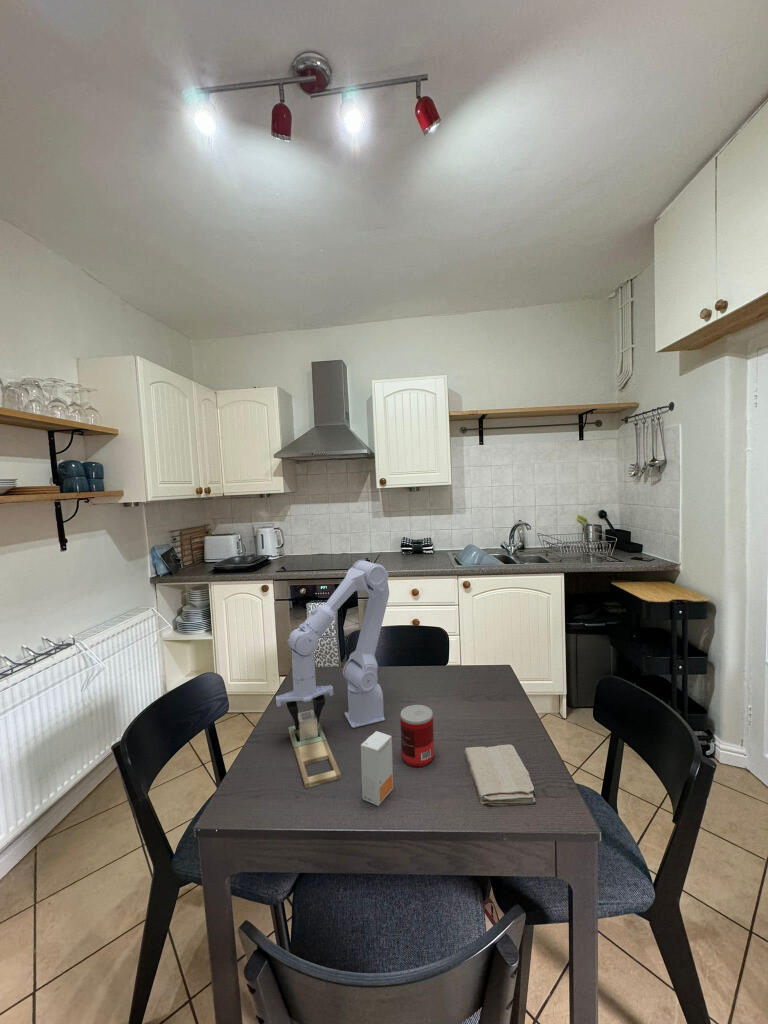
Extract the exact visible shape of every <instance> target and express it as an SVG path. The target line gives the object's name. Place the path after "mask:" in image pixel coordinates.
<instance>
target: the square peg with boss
mask: <svg viewBox="0 0 768 1024" xmlns="http://www.w3.org/2000/svg"><path fill="white" fill-rule="evenodd" d="M298 723H299V730H297V734H296V735H297V738H298V742H300V741H304V740H309V739H313V738H317V737H319V735H318V728H317V717H316V715H315V712H314V709H311V710H306V711H301V712H298Z"/></svg>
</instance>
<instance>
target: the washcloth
mask: <svg viewBox="0 0 768 1024" xmlns="http://www.w3.org/2000/svg"><path fill="white" fill-rule="evenodd" d="M463 754H465V758H466V759H465V760H467V762H466V763H468V767H469V772H470V775H471V777H472V779H473V781H474V784H475V787H476V790H477V794H478V798H479V801H480V802H479V803H480V804H481V805H482V806H484V805H489V806H495V807H496V806H510V805H530V804H535V803H536V797H535V796H534V793H533V792H534V791H535V787H534V785H533V782H532V780H531V776H530V773H529V771H528V770H527V768H526V767H525V765H524V763H523V761H522V759H521V757H520V756H519V754H518V752H517V750H516V749H515V746H514V745H512V744H507V743H506V744H500V745H495V746H488V747H486V746H472V747H471V746H470V747H466V748H465V749H464V752H463Z"/></svg>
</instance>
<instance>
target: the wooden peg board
mask: <svg viewBox="0 0 768 1024" xmlns="http://www.w3.org/2000/svg"><path fill="white" fill-rule="evenodd" d="M317 728H318V737H317V738H313V739H309V740H304V741H300V742H299V741H298V740H297V737H296V735H298V734H297V730H296V728H295V725H291V726H288V733H289V737H290V741H291V744H292V748H293V750H294V754H295V756H296V761H297V763H298V764H297V765H298V767H299V771H300V775H301V779H302V782H303V785H304V789H309V788H313V787H315V786H316V787H317V786H319V785H323V784H326V783H330V782H334V781H337V780H340V779H342V774H341V771H340V769H339V767H338V764H337V762H336V759H335V757H334V755H333V753H332V750H331V748H330V746H329V743H328V741H327V738H326V736H325V733H324V731H323V728H322V727H321V724H320V722H319V723H318V726H317ZM327 760H328V762H329V764H330V767H331V769H332V770H330V771H327V772H322V773H319V774H315V775H311V776H308V773H307V769H306V767H305V766H307V765H311V764H315V763H318V762H321V761H327Z"/></svg>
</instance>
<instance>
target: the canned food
mask: <svg viewBox="0 0 768 1024" xmlns="http://www.w3.org/2000/svg"><path fill="white" fill-rule="evenodd" d="M399 719H400V721H399V722H400V742H401V745H400V746H401V757H402V759H403V762H404V763H405V764H406V765H408V766H411V767H416V768H417V767H418V768H419V767H425V766H427V765H429V764H430V763H432V761H433V759H434V756H435V755H434V754H435V747H434V746H435V744H434V743H435V741H434V739H435V736H434V714H433V710H432V709H431V708H430V707H428V706H427V705H422V704H413V705H408V706H405V707H404V708H402V709H401V711H400V718H399Z"/></svg>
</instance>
